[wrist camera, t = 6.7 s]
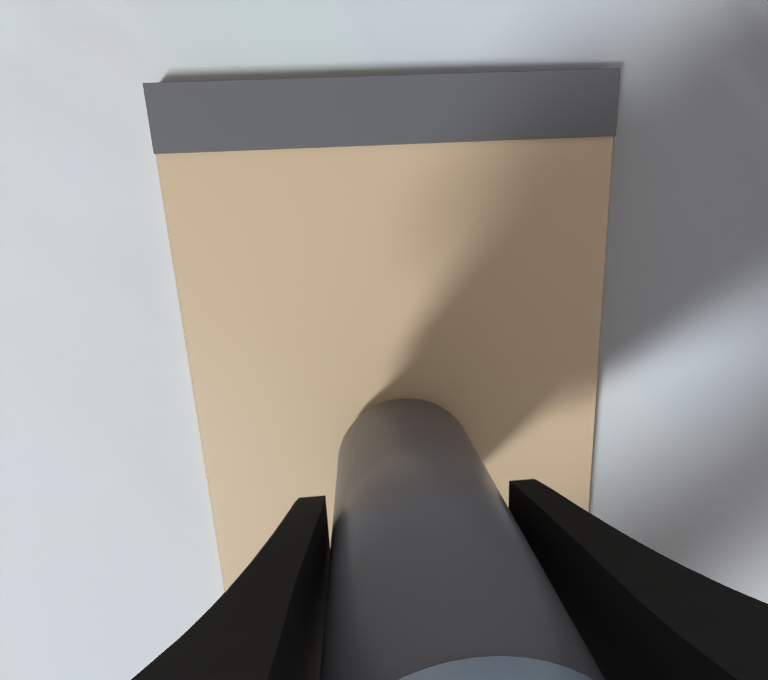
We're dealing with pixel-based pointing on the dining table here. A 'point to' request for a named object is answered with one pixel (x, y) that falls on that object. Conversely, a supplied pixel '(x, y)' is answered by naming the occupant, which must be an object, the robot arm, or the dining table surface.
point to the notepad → (385, 271)
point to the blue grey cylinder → (435, 564)
